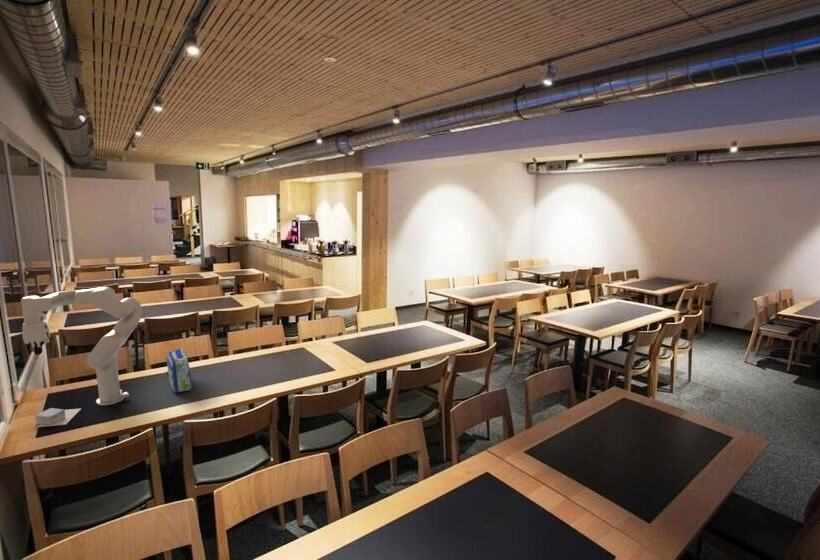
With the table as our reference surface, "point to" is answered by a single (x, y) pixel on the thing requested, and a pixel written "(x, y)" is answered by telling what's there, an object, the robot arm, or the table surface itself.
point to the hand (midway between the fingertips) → (38, 353)
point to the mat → (68, 416)
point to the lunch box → (178, 371)
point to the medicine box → (50, 416)
